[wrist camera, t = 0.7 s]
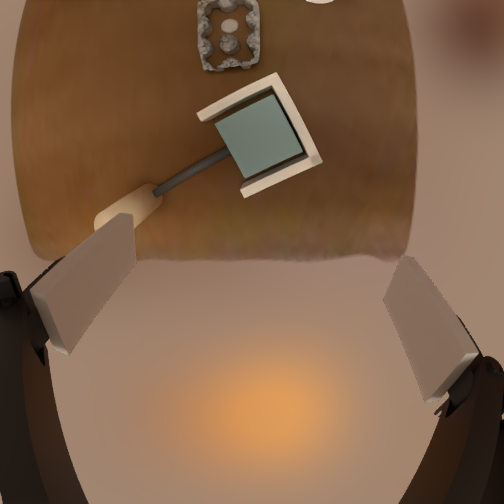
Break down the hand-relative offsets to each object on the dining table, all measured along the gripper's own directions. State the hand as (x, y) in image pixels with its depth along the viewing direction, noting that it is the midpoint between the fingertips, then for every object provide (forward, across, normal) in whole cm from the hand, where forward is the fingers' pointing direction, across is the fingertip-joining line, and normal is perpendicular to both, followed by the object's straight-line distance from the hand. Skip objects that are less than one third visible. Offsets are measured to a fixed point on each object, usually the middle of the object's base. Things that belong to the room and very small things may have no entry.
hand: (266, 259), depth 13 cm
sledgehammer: (+25, -9, -1) cm, 26 cm away
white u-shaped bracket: (+25, -2, +4) cm, 25 cm away
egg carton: (+25, -7, +17) cm, 31 cm away
